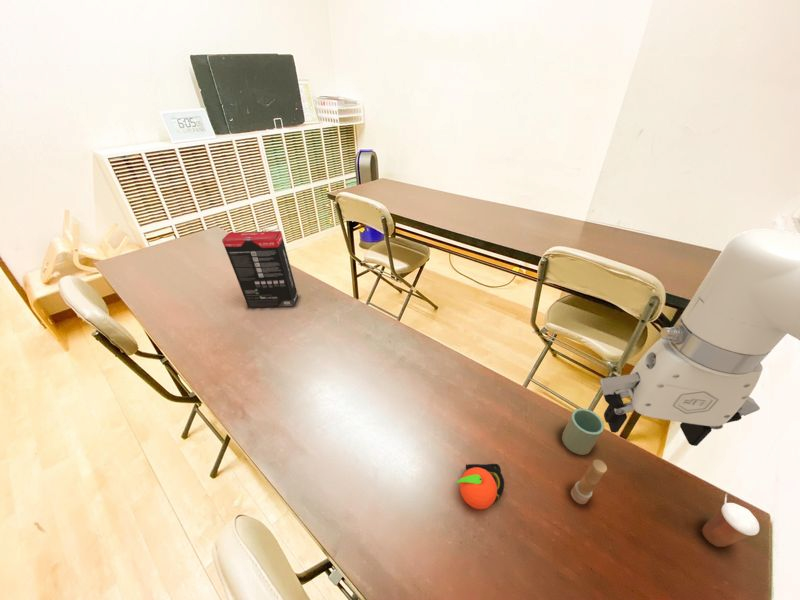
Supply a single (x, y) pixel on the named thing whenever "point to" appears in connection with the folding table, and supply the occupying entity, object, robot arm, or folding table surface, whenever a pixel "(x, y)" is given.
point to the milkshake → (730, 525)
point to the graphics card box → (262, 268)
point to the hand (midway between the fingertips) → (648, 429)
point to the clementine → (478, 488)
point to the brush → (588, 482)
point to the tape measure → (496, 474)
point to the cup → (582, 431)
